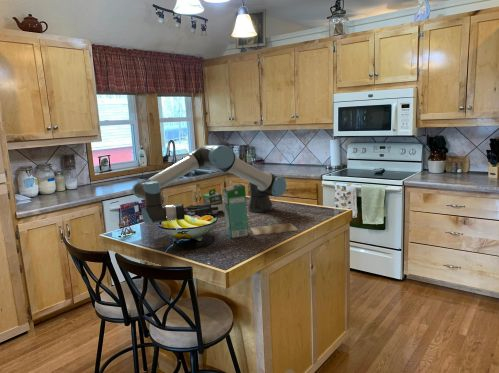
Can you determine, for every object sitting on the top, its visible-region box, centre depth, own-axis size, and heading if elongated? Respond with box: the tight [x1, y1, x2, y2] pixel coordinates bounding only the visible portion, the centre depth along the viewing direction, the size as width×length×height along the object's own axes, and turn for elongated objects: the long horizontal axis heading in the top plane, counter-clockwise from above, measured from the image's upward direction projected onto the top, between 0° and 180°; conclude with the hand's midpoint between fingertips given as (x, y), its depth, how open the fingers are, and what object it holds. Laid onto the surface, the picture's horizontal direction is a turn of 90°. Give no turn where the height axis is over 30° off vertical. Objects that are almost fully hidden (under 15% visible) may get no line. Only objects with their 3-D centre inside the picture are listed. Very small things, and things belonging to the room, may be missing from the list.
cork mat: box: [250, 222, 299, 237], centre depth 199 cm, size 22×12×1 cm, turn 100°
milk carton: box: [222, 183, 249, 239], centre depth 193 cm, size 9×9×25 cm
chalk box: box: [202, 188, 224, 216], centre depth 240 cm, size 9×9×15 cm
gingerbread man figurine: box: [118, 212, 137, 235], centre depth 206 cm, size 9×4×12 cm, turn 143°
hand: (224, 207), depth 191 cm, fingers closed
